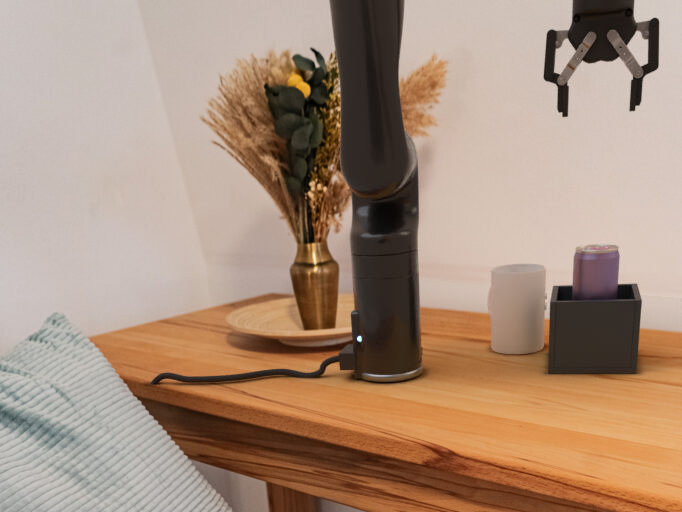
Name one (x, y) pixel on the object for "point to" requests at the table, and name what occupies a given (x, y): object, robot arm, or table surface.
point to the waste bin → (594, 332)
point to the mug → (517, 308)
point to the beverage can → (595, 272)
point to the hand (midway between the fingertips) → (598, 114)
